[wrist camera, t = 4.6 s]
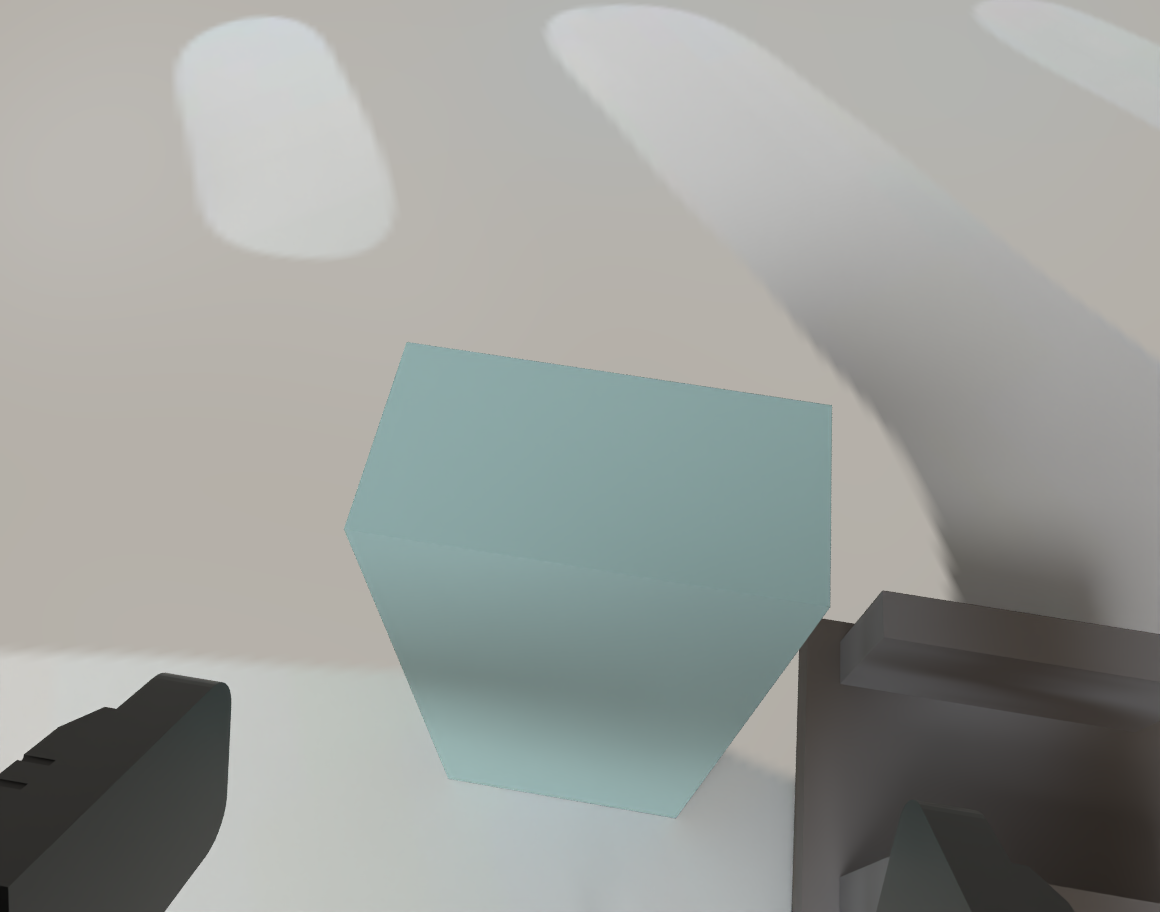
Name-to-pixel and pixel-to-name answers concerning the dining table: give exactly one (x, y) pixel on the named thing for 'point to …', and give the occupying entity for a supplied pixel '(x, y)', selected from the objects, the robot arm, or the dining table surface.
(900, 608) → the hinge cabinet
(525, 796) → the dining table surface
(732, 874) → the dining table surface
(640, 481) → the tall teal block
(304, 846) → the dining table surface
